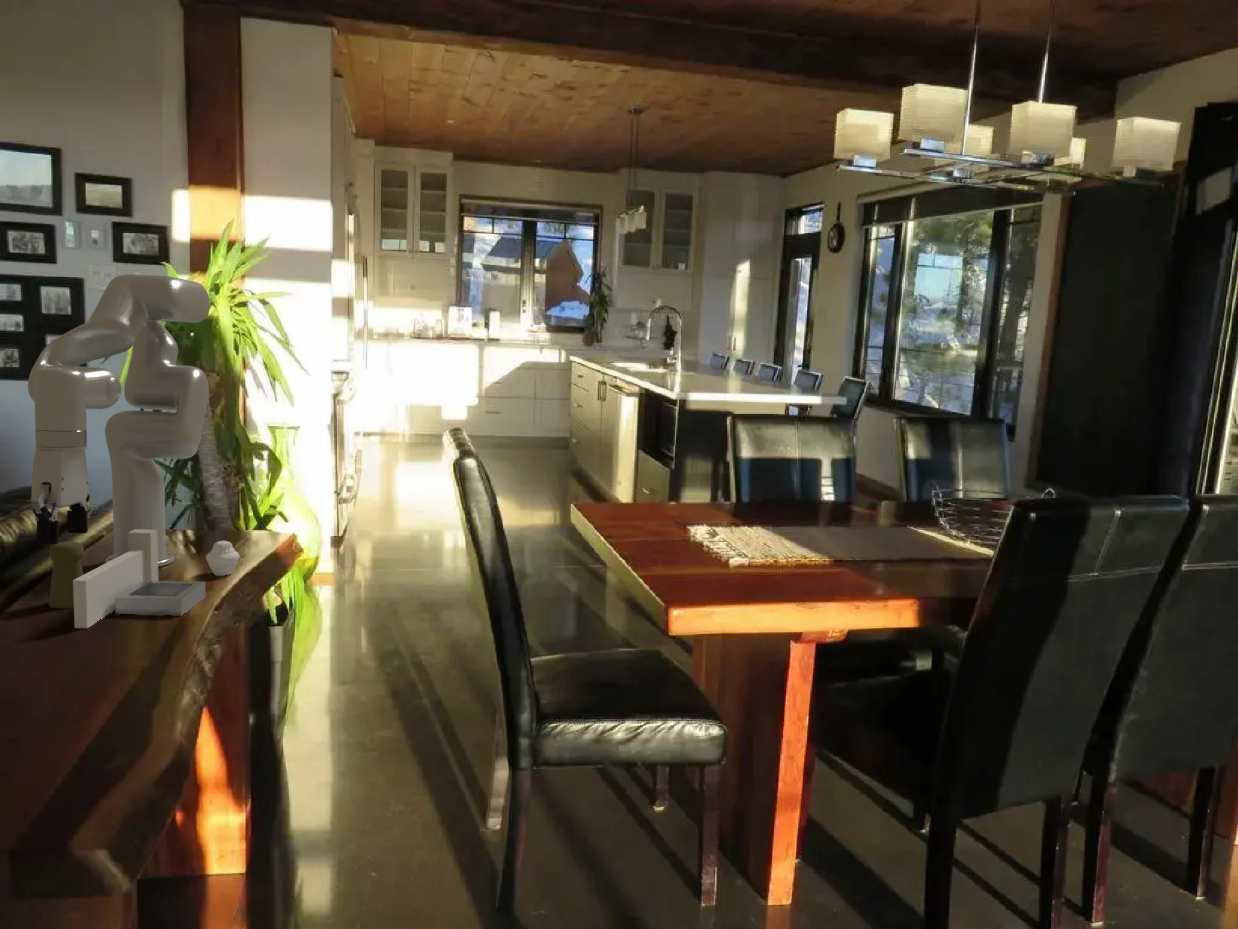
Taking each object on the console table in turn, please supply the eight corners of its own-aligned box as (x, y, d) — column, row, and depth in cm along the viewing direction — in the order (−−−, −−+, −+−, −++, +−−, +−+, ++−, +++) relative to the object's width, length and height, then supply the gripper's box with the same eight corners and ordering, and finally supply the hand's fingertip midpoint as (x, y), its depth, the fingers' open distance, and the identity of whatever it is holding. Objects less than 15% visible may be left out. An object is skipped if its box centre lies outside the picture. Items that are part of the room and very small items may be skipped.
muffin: (241, 569, 187) (241, 536, 186) (237, 577, 181) (237, 543, 180) (208, 570, 185) (208, 537, 184) (203, 578, 179) (203, 544, 178)
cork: (69, 609, 156) (67, 547, 155) (40, 606, 158) (37, 544, 156) (96, 600, 162) (94, 540, 161) (67, 596, 163) (65, 537, 162)
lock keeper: (143, 596, 166) (143, 580, 166) (205, 597, 167) (205, 581, 167) (115, 614, 155) (114, 597, 155) (181, 615, 156) (181, 599, 156)
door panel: (136, 585, 172) (135, 529, 171) (158, 586, 172) (157, 529, 171) (68, 627, 147) (65, 562, 146) (93, 628, 148) (91, 562, 146)
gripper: (64, 435, 164) (66, 528, 166) (8, 443, 147) (11, 547, 148) (108, 437, 164) (109, 529, 166) (57, 445, 147) (59, 549, 149)
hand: (63, 538), depth 157 cm, fingers open, 9 cm apart
